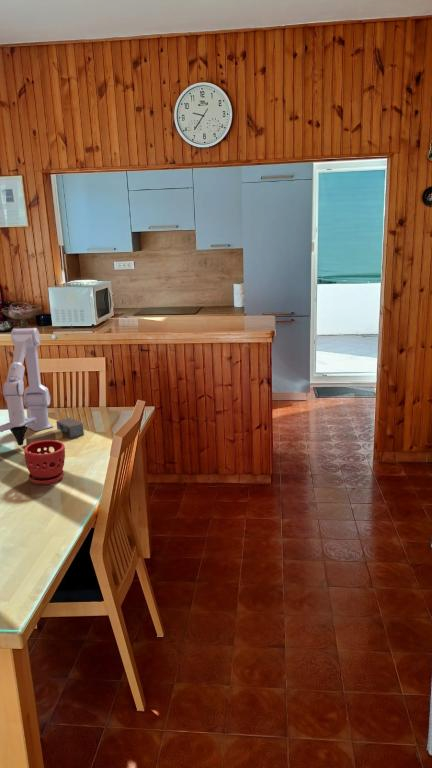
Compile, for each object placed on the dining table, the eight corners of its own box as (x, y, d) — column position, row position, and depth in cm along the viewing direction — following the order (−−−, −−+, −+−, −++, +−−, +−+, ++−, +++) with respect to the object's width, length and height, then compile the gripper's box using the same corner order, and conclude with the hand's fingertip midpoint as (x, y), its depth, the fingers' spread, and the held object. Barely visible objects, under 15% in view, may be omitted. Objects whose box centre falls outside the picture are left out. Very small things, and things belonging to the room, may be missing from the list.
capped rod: (26, 444, 234) (25, 437, 233) (59, 435, 243) (58, 428, 242) (30, 446, 231) (29, 439, 231) (62, 437, 240) (61, 430, 240)
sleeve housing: (57, 432, 246) (56, 421, 245) (70, 428, 250) (69, 417, 249) (70, 438, 238) (69, 427, 237) (83, 434, 242) (82, 423, 241)
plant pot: (27, 490, 193) (23, 456, 190) (28, 474, 206) (24, 442, 202) (68, 484, 197) (64, 450, 194) (67, 469, 209) (63, 437, 206)
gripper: (2, 418, 219) (6, 452, 223) (38, 409, 228) (42, 442, 232) (-6, 414, 224) (-1, 447, 228) (30, 405, 233) (34, 437, 237)
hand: (20, 444), depth 230 cm, fingers closed
